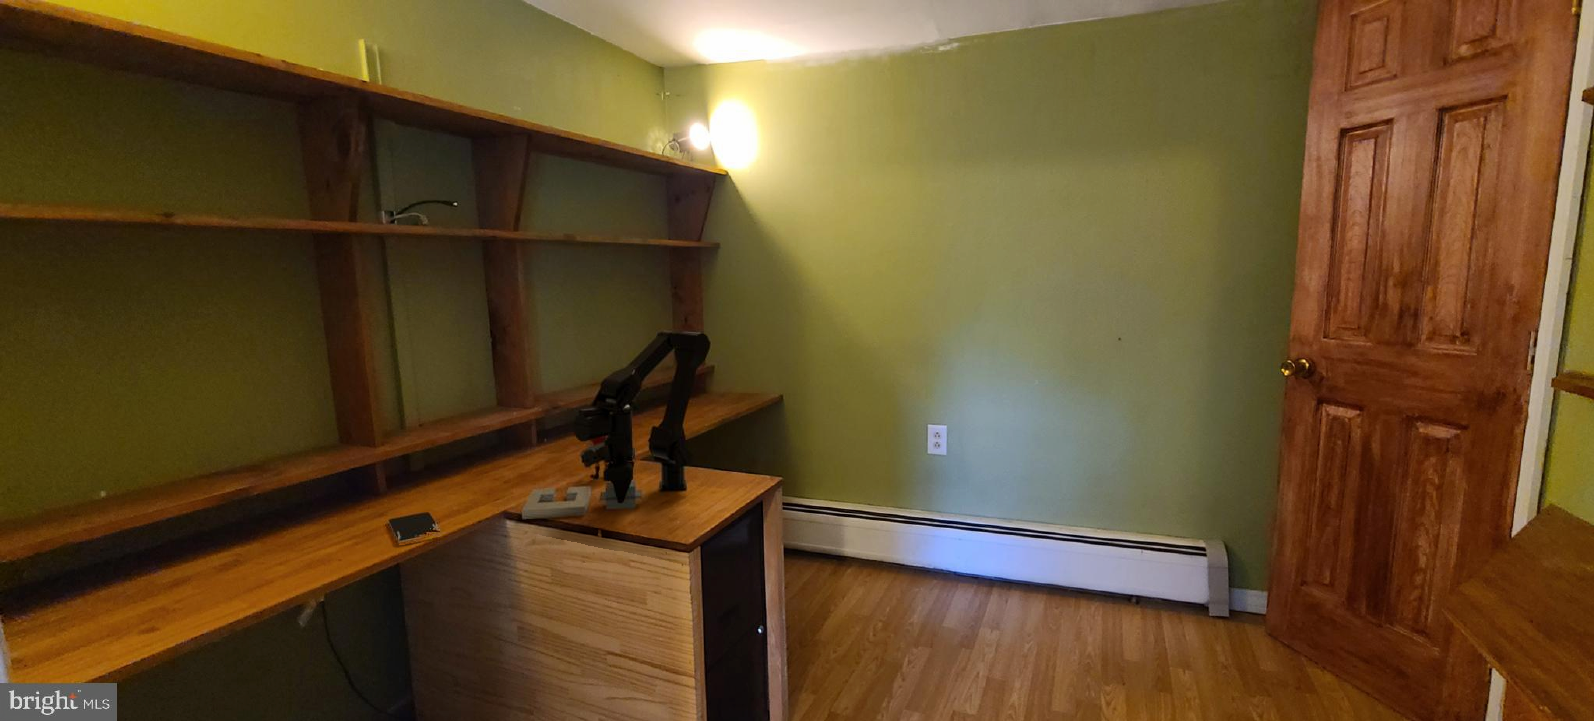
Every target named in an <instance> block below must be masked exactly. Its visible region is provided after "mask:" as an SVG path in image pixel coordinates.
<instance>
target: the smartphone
mask: <svg viewBox="0 0 1594 721" xmlns="http://www.w3.org/2000/svg"><path fill="white" fill-rule="evenodd" d="M434 519H435V518H433V516H432V515H431V513H430V512H420V513H415V514H410V515H404V516H400V517H399V516H398V517H393V518H389V519H388V525H389V524H390V525H389V527H390V526H391V528H392V530H393V532H394V534H395V536H396V538H397V540H398V542H405V541H409V540H412V539H419V538H420V537H419V535H426V534H427V533H426V532H442V530H441V529H436V528H440V527H439V525H438V524H437V522H436V521H435V520H434ZM391 528H390V529H391ZM430 528H431V529H430ZM433 528H435V530H433ZM392 530H391V531H392ZM393 532H392V533H393ZM394 534H393V535H394ZM438 534H440V533H438ZM428 535H429V534H428ZM431 535H436V534H431ZM395 536H394V537H395ZM396 538H395V539H396Z"/></svg>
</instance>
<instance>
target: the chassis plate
mask: <svg viewBox="0 0 1594 721" xmlns="http://www.w3.org/2000/svg"><path fill="white" fill-rule="evenodd" d="M591 488H592V487H591V485H586V486H585V485H584V486H570V487H569V486H568V489H567V490H566V501H563V500H562V501H555V499H556V487H552V488H551V487H549V488H548V487H547V488H533V489H532V491H531V493H530V494H529V496H528V498H527V500H526V502H525V504H524V506H523V507H522V509H521V519H522V520H527V519H528V520H533V519H546V518H561V517H562V518H563V517H564V518H567V517H577V516H578V517H579V516H580V517H581V516H585V515H586V513H587V509H588V505H589V502H590V498H591V495H592V492H591V491H592V489H591Z"/></svg>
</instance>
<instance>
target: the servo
mask: <svg viewBox="0 0 1594 721" xmlns="http://www.w3.org/2000/svg"><path fill="white" fill-rule="evenodd" d="M636 482H637V481H636V480H632V481H631V484H630V486H629V489H628V491H627V494H626V497H625V499H624V502H623V503H618V501H617V497H616V493H615V490H614V486H613V483H612V482H610V481H606V484H605V490H604V491H601V492H600V495H599V502H601V501H603V502H604V501H605V509H606V510H619V509H631V508H632V509H634V508H636V507H637V499H638V500H641V499H642V497H643V489H637V486H636V485H637V484H636Z"/></svg>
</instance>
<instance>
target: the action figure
mask: <svg viewBox="0 0 1594 721" xmlns="http://www.w3.org/2000/svg"><path fill="white" fill-rule="evenodd" d="M605 437H606V436H604V437H600V438H596V439H592V440H588V441H586V444H585V449H586V448H589V447H592V446H594V445H597V444H600V443H603V442H604V441H605V440H606V439H605ZM602 462H603V464H604V468H605V467H606V466H607V465H608V463H605V460H603V461H602ZM590 467H591V466H590ZM590 467H587V468H590ZM600 469H601V466H600V462H598V463H596V464H594V470H595V474H593V473H592V474H590V477H591V478H593V479H594V478H596V479H599V478H600Z"/></svg>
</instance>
